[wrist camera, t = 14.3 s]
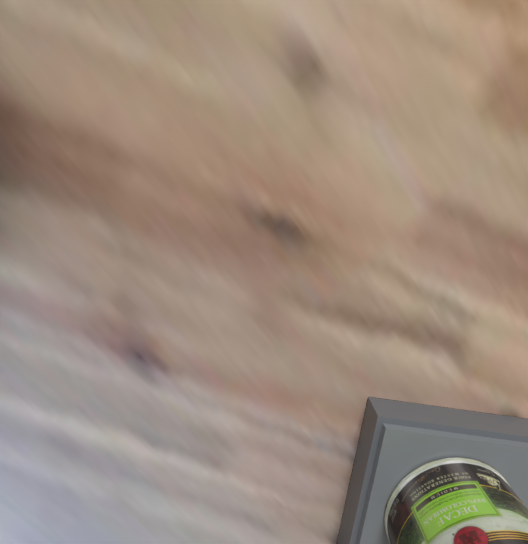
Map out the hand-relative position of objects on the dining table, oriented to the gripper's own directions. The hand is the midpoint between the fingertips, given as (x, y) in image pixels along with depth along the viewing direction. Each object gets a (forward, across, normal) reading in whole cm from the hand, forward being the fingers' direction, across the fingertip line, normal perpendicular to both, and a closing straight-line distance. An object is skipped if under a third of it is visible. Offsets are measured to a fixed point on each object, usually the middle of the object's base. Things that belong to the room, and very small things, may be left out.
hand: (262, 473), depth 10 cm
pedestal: (+29, +18, -18) cm, 38 cm away
